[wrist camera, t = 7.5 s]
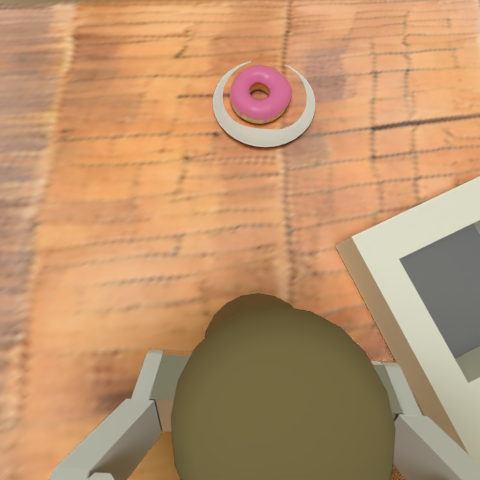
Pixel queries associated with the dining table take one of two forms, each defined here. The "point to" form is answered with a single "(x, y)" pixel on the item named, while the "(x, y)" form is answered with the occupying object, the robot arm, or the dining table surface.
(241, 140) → the donut
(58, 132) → the dining table surface
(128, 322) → the dining table surface
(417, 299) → the socket rail
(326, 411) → the olive knobbed peg
